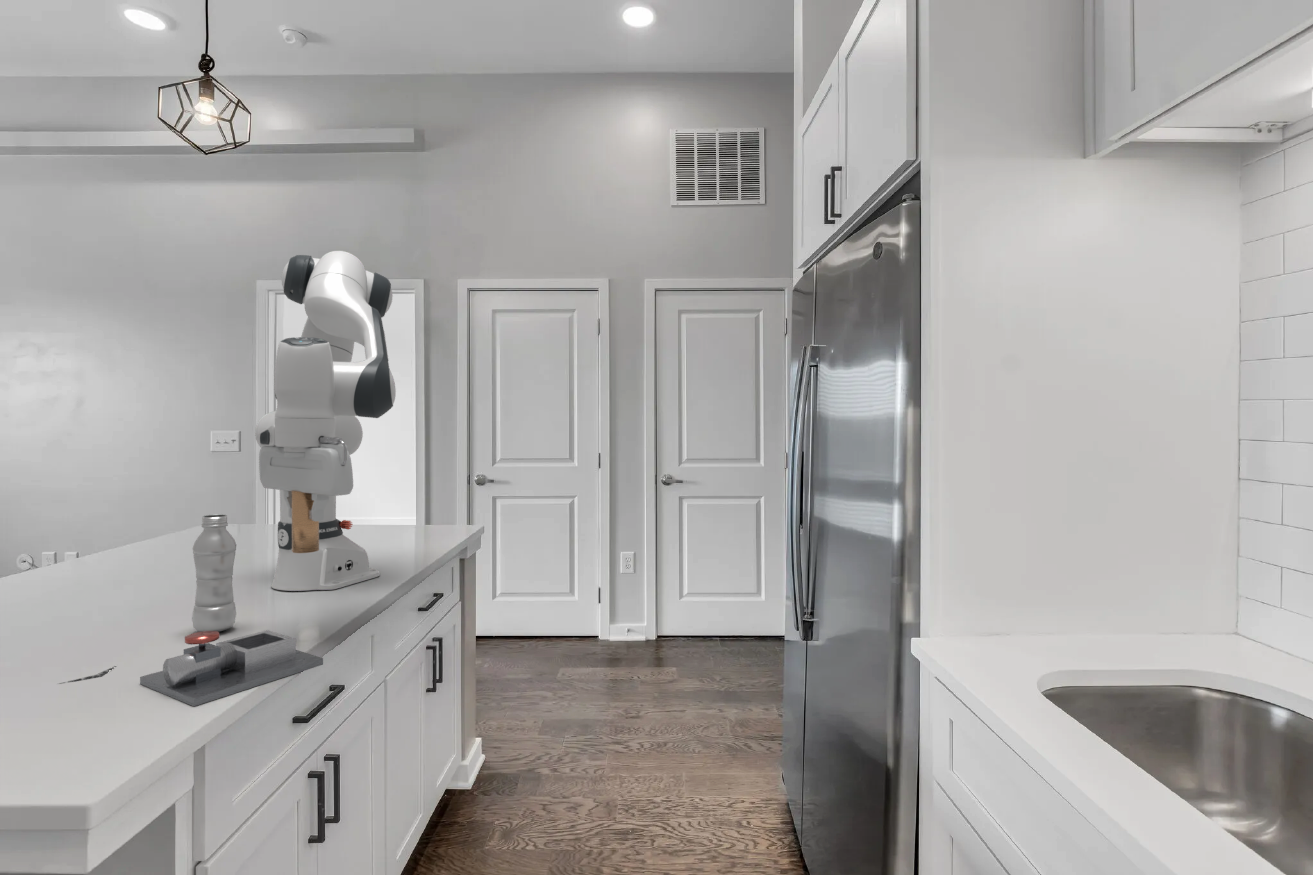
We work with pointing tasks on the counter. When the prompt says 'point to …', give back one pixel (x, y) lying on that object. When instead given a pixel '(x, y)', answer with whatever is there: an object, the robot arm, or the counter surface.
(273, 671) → the valve fitting
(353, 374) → the robot arm
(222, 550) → the plastic bottle
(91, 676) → the dark thin curved piece
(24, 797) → the counter surface
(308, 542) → the pipe stub
